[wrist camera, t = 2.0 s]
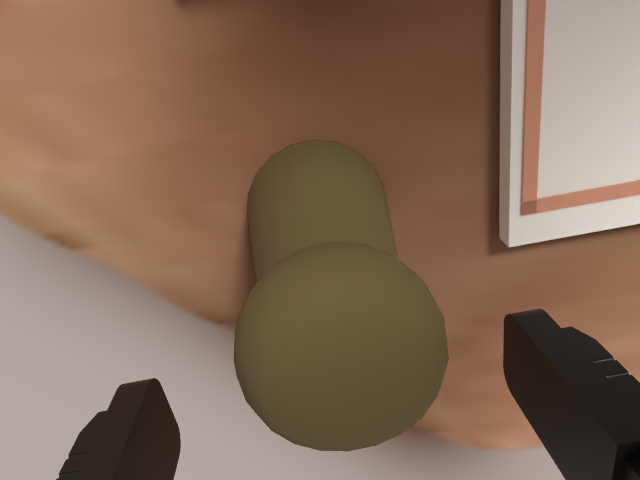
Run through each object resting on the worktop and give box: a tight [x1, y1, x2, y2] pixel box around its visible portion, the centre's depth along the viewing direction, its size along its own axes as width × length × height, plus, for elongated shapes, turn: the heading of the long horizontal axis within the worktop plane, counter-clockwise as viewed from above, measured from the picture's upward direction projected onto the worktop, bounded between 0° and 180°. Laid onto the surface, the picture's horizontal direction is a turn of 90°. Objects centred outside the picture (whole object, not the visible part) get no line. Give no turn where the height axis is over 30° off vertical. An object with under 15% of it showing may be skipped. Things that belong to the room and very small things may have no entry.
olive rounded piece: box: [234, 140, 449, 451], centre depth 15 cm, size 6×6×11 cm
